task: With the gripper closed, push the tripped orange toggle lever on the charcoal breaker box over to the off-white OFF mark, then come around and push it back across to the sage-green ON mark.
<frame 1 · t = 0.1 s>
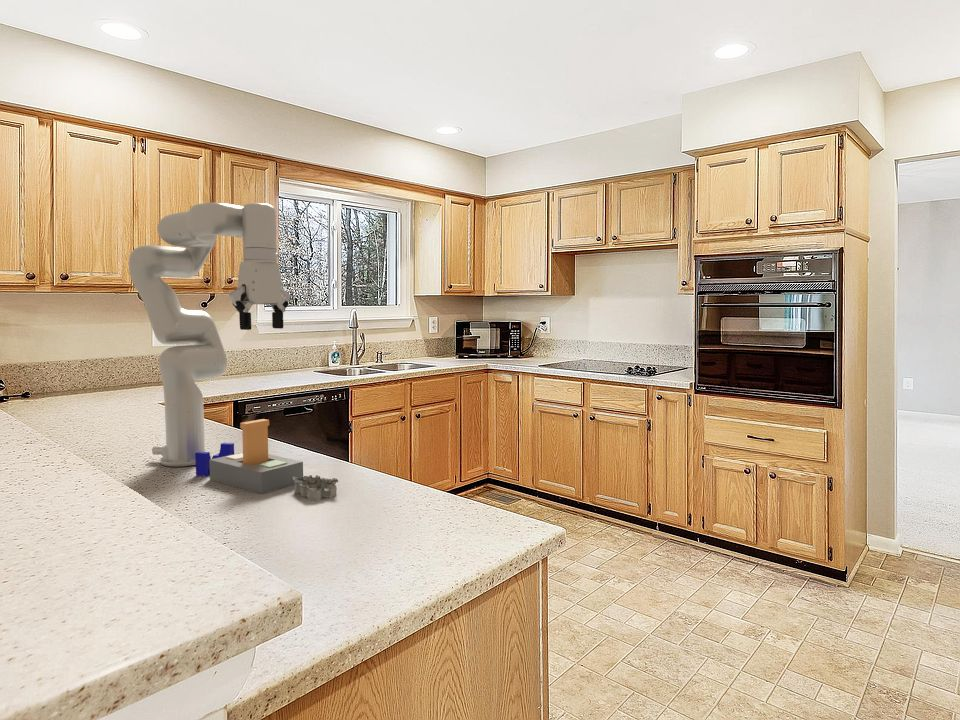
hand: (262, 328, 151), 37 cm above the countertop, tool pointing down, fingers open, 9 cm apart
breaker box: (256, 480, 154), on the countertop
cable clip: (213, 471, 164), on the countertop
breaker lever: (255, 446, 153), point 9 cm above the countertop, hinge at 0.0°
egg carton: (314, 495, 145), on the countertop
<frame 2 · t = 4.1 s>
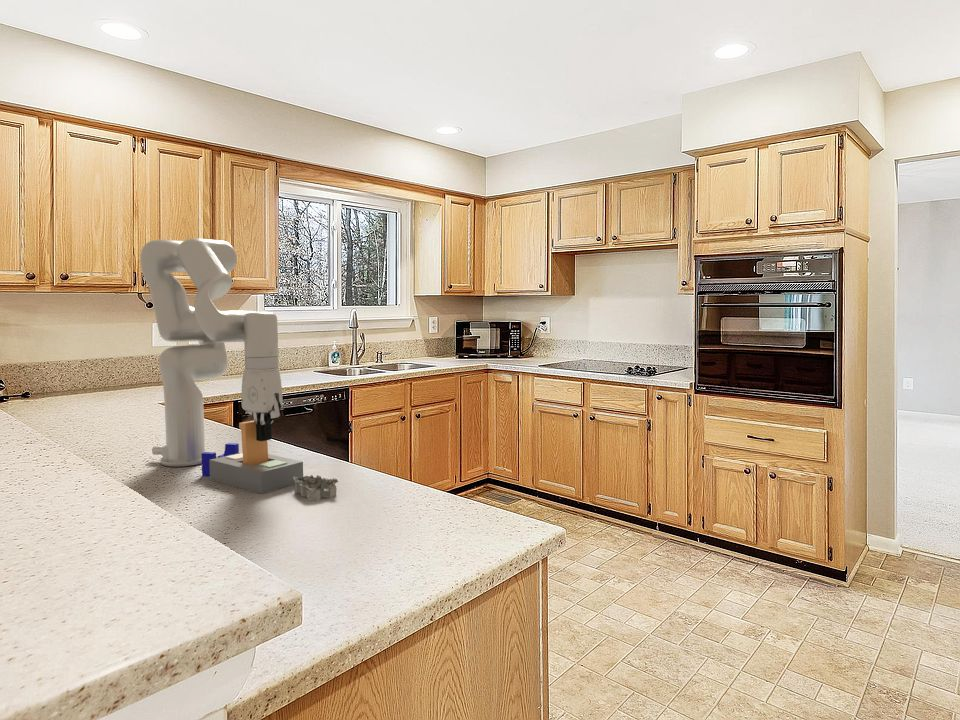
hand: (264, 439, 151), 11 cm above the countertop, tool pointing down, fingers closed
cable clip: (218, 471, 164), on the countertop
breaker lever: (255, 446, 153), point 9 cm above the countertop, hinge at -3.0°, touching gripper
everything else where it was.
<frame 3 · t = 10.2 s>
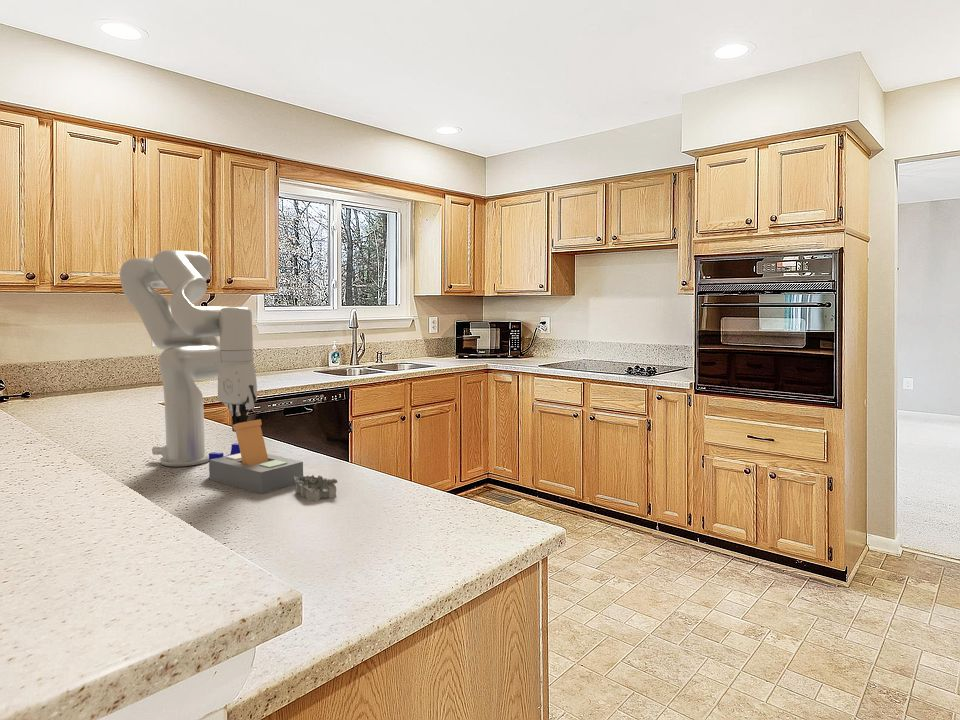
hand: (239, 430, 156), 12 cm above the countertop, tool pointing down, fingers closed
cable clip: (225, 471, 163), on the countertop
breaker lever: (252, 446, 154), point 8 cm above the countertop, hinge at -18.2°, touching gripper
everything else where it was.
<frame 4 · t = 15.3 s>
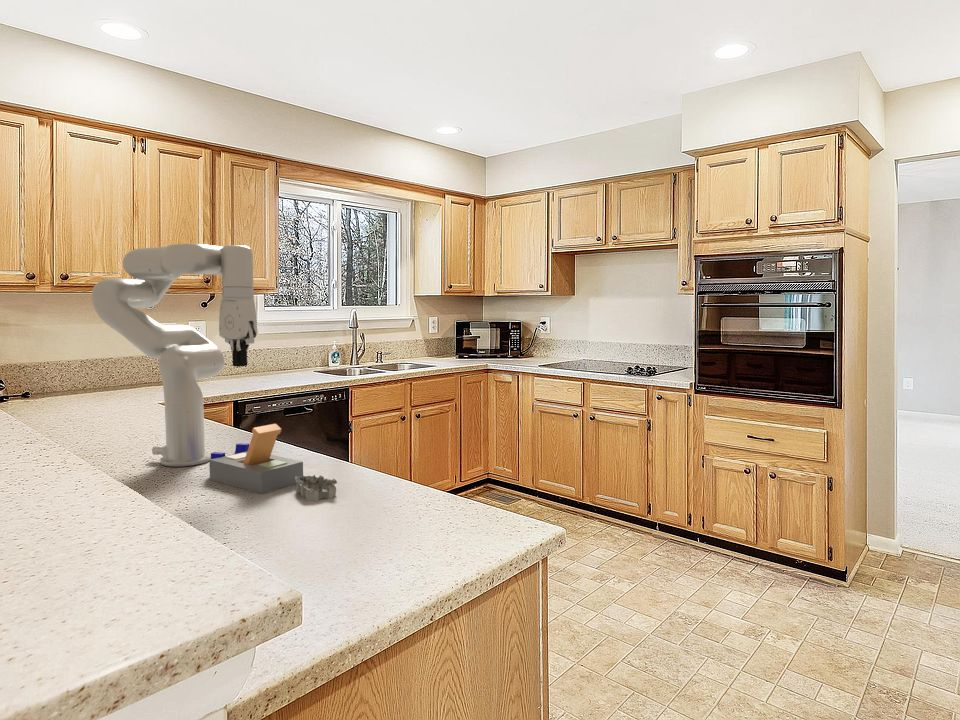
hand: (240, 365, 162), 27 cm above the countertop, tool pointing down, fingers closed
breaker lever: (260, 449, 152), point 8 cm above the countertop, hinge at 27.7°
at the end: breaker lever at +28° (first picture: +0°); cable clip moved 4.3 cm from its start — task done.
